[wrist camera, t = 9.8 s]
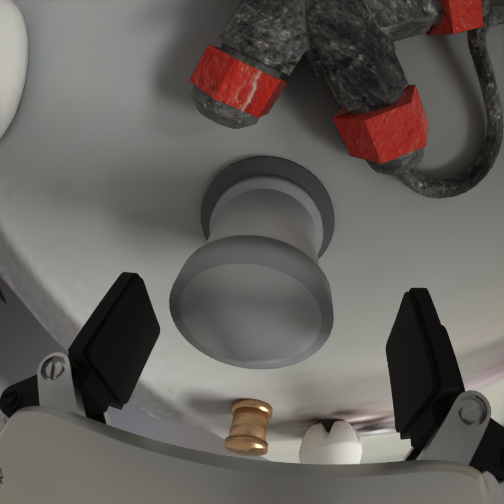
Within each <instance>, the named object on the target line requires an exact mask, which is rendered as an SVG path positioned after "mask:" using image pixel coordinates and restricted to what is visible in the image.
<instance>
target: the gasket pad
mask: <svg viewBox="0 0 504 504" xmlns="http://www.w3.org/2000/svg"><path fill="white" fill-rule="evenodd" d="M258 174H274V175H279V176H283V177H286V178H289V179H291V180H293V181H295V182H297V183H298V184H300V185H301V186H303V187H304V188H305V189H306V190H307V191H308V192H309V193H310V194H311V195H312V197H313V198H314V200H315V201H316V203H317V205H318V207H319V210H320V214H321V219H322V225H323V240H322V245H321V248H320V251H319V253H318V255H317V256H318V259H319V258H320V257H321V256H322V254H323V253H324V252H325V250H326V249H327V247H328V245H329V243H330V241H331V238H332V235H333V230H334V212H333V207H332V203H331V200H330V197H329V195H328V193H327V191H326V189H325V188H324V186H323V185H322V183H321V182H320V181H319V180H318V179H317V177H316V176H314V175H313V174H312V173H311V172H310V171H308V170H307V169H305V168H304V167H302V166H301V165H299V164H297V163H294V162H292V161H289V160H286V159H283V158H277V157H267V156H263V157H253V158H249V159H245V160H242V161H239V162H237V163H235V164H233V165H231V166H229V167H228V168H226V169H225V170H224V171H222V172H221V173H220V174H219V175H218V176H217V177H216V178H215V180H214V181H213V182H212V184H211V185H210V187H209V188H208V190H207V192H206V194H205V197H204V199H203V203H202V207H201V224H202V228H203V232H204V235H205V237H206V239H207V240H208V238H209V236H210V219H211V215H212V212H213V210H214V208H215V206H216V204H217V202H218V201H219V199H220V197H221V196H222V194H223V193H224V192H225V191H226V190H227V189H228V188H229V187H230V186H231V185H232V184H234V183H235V182H237V181H239V180H241V179H243V178H245V177H249V176H252V175H258Z"/></svg>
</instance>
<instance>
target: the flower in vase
mask: <svg viewBox="0 0 504 504" xmlns="http://www.w3.org/2000/svg"><path fill="white" fill-rule="evenodd" d="M27 66H28V34H27V27H26V23H25V20H24V18H23V15H22V14H21V12H20V10H19V9H18V7H17V6H16V5H15V4H14V3H13V2H12V1H10V0H0V138H1V137H2V136H3V134H4V133H5V131H6V130H7V128H8V126H9V125H10V123H11V121H12V120H13V118H14V116H15V113H16V111H17V109H18V106H19V103H20V100H21V97H22V93H23V89H24V85H25V80H26V74H27Z"/></svg>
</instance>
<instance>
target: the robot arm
mask: <svg viewBox="0 0 504 504" xmlns="http://www.w3.org/2000/svg"><path fill="white" fill-rule="evenodd" d="M159 334H160V326H159V323H158V321H157V318H156V315H155V313H154V310H153V307H152V304H151V301H150V299H149V296H148V293H147V290H146V287H145V284H144V281H143V279H142V278H141V277H140V276H139V275H138V274H137V273H129V272H123V273H122V274H121V275H120V276H119V277H118V279H117V280H116V281H115V283H114V284H113V285H112V287H111V288H110V289H109V291H108V292H107V294H106V295H105V296H104V298H103V299H102V301H101V302H100V303H99V305H98V306H97V308H96V309H95V310H94V312H93V313H92V315H91V316H90V318H89V319H88V321H87V322H86V323H85V325H84V326H83V328H82V329H81V331H80V332H79V334H78V335H77V337H76V338H75V340H74V341H73V343H72V345H71V346H70V348H69V349H68V352H69V355H68V356H66V355H65V354H63V353H58V352H56V353H52V354H50V355H48V356H46V357H45V358H44V359H43V360H42V361H41V363H40V365H39V367H38V372H37V375H35V376H32V377H30V378H28V379H25V380H23V381H21V382H18V383H16V384H14V385H11V386H10V387H8V388H7V389H5V390H4V391H3V393H2V395H1V398H0V504H504V427H503V426H501V425H500V424H499V423H497V422H496V421H494V420H493V419H492V418H490V416H491V407H490V404H489V401H488V400H487V399H486V397H485V396H484V395H482V394H481V393H479V392H477V391H471V390H469V391H465V388H464V384H463V381H462V377H461V374H460V370H459V367H458V364H457V360H456V357H455V354H454V351H453V348H452V345H451V342H450V339H449V336H448V333H447V330H446V328H445V327H444V326H443V325H441V323H440V320H439V317H438V315H437V312H436V309H435V307H434V304H433V302H432V299H431V296H430V294H429V291H428V290H427V289H426V288H411V289H410V290H409V292H405V294H404V296H403V299H402V302H401V305H400V308H399V311H398V314H397V317H396V320H395V322H394V325H393V328H392V330H391V333H390V336H389V338H388V341H387V344H386V355H387V362H388V368H389V375H390V383H391V390H392V399H393V407H394V417H395V428H396V431H397V432H398V433H399V432H400V437H401V440H402V439H411V446H412V448H411V450H410V451H409V452H408V454H407V455H406V456H405V458H404V459H403V461H398V462H386V463H370V464H298V463H283V462H271V461H261V460H253V459H245V458H238V457H231V456H225V455H219V454H213V453H208V452H202V451H198V450H193V449H188V448H184V447H180V446H176V445H172V444H168V443H164V442H160V441H157V440H153V439H150V438H146V437H143V436H139V435H136V434H133V433H130V432H127V431H123V430H121V429H118V428H115V427H112V425H111V422H110V419H109V416H108V413H107V409H108V406H111V407H114V408H118V409H121V410H122V407H123V405H124V404H126V403H127V402H128V401H129V399H130V397H131V395H132V392H133V390H134V388H135V386H136V383H137V381H138V379H139V377H140V375H141V373H142V370H143V368H144V366H145V364H146V362H147V360H148V358H149V355H150V353H151V351H152V349H153V347H154V345H155V343H156V341H157V339H158V337H159Z"/></svg>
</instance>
